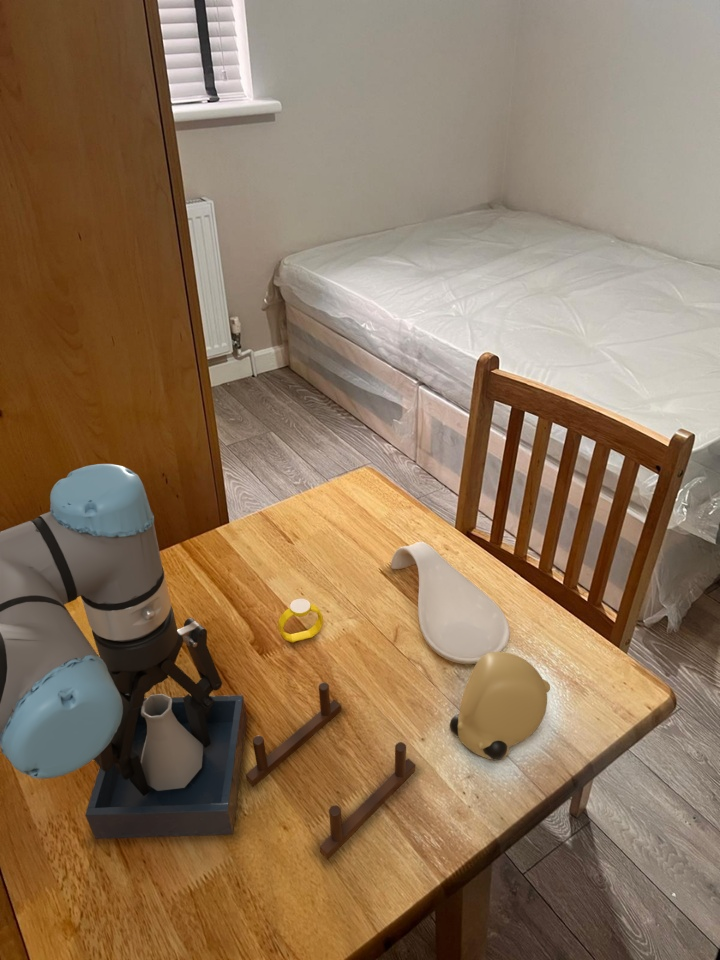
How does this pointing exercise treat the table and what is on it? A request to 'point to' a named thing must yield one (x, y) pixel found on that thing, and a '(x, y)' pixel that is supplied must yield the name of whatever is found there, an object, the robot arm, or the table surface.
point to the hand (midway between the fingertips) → (171, 761)
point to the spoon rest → (453, 608)
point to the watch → (300, 609)
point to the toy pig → (500, 705)
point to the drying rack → (338, 829)
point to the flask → (168, 747)
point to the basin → (183, 809)
